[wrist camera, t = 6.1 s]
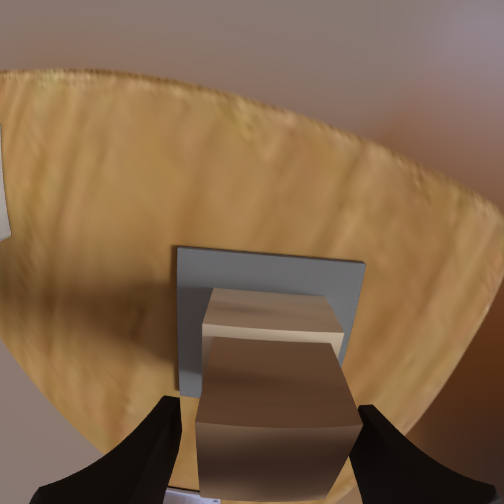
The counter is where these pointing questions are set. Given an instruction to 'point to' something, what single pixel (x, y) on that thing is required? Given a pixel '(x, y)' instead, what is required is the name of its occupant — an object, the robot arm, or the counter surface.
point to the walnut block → (273, 421)
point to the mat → (254, 279)
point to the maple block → (269, 319)
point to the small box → (3, 205)
